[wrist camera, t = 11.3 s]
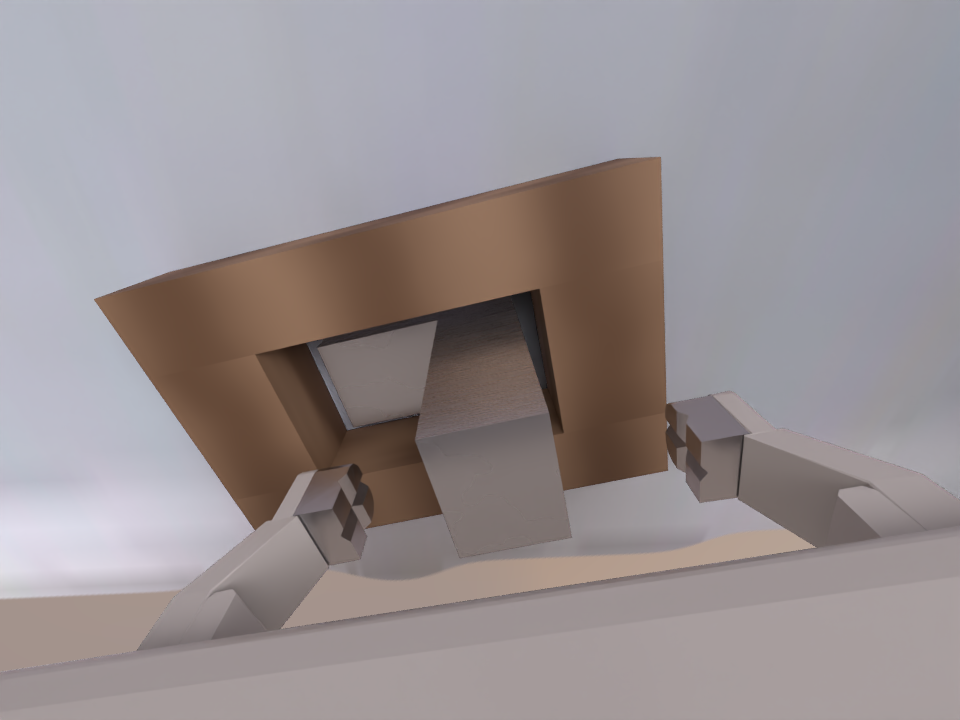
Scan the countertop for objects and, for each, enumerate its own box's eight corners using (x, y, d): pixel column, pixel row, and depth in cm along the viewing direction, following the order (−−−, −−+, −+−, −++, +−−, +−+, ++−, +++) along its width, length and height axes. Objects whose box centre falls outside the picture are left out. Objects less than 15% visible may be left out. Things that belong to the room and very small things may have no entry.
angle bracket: (509, 291, 17) (548, 412, 8) (525, 373, 18) (571, 537, 10) (328, 333, 17) (206, 483, 9) (361, 408, 19) (283, 590, 11)
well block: (618, 158, 14) (660, 157, 11) (635, 421, 20) (667, 470, 17) (168, 272, 16) (93, 299, 13) (296, 490, 21) (267, 547, 18)
